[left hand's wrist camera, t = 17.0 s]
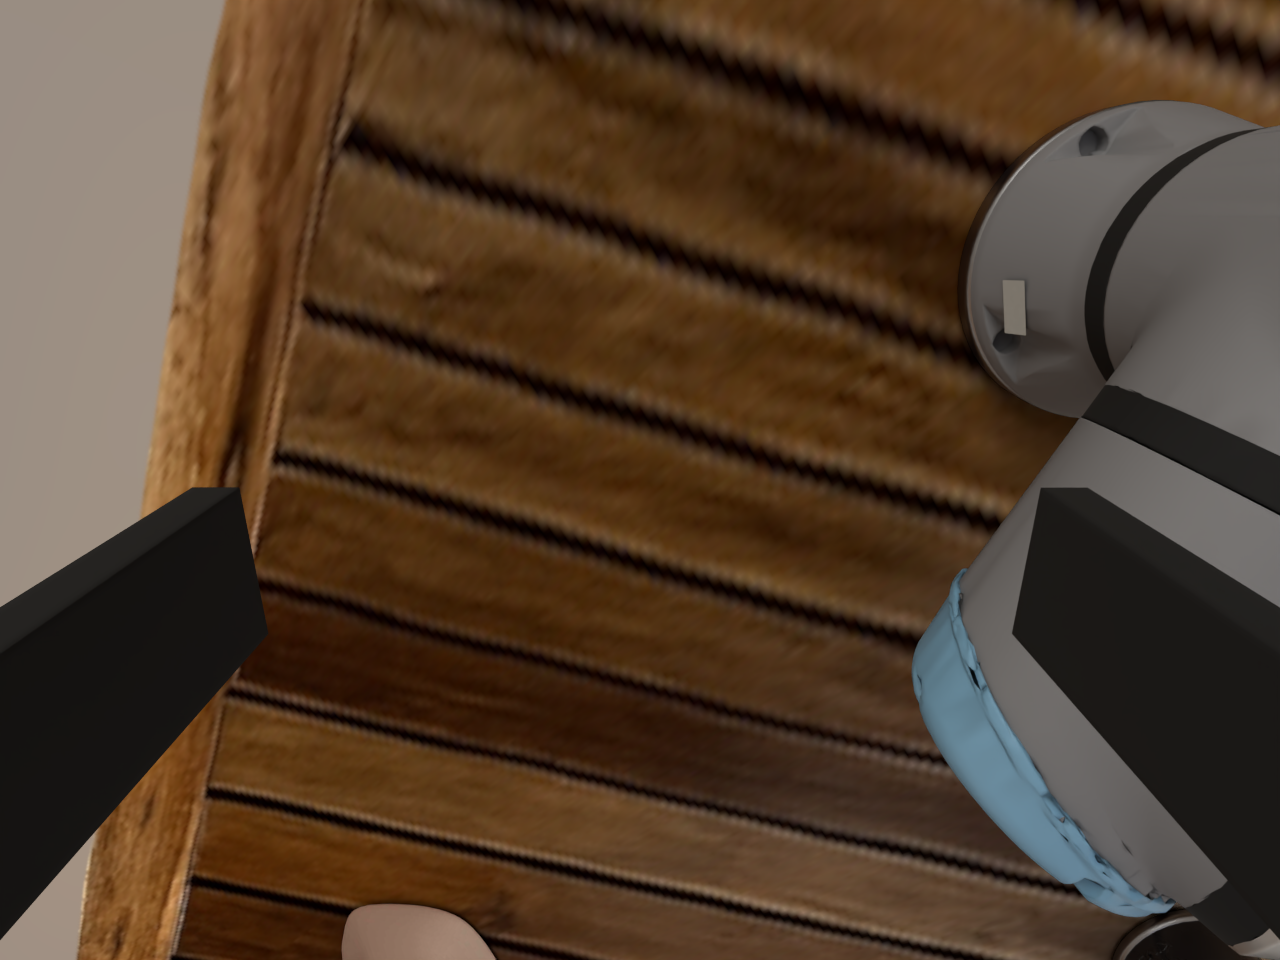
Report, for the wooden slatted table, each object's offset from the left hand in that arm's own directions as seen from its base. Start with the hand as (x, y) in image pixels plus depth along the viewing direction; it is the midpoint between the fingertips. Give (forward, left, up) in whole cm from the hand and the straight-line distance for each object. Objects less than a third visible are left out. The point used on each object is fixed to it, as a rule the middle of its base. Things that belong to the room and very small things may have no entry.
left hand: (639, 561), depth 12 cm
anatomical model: (+3, +50, -29) cm, 58 cm away
